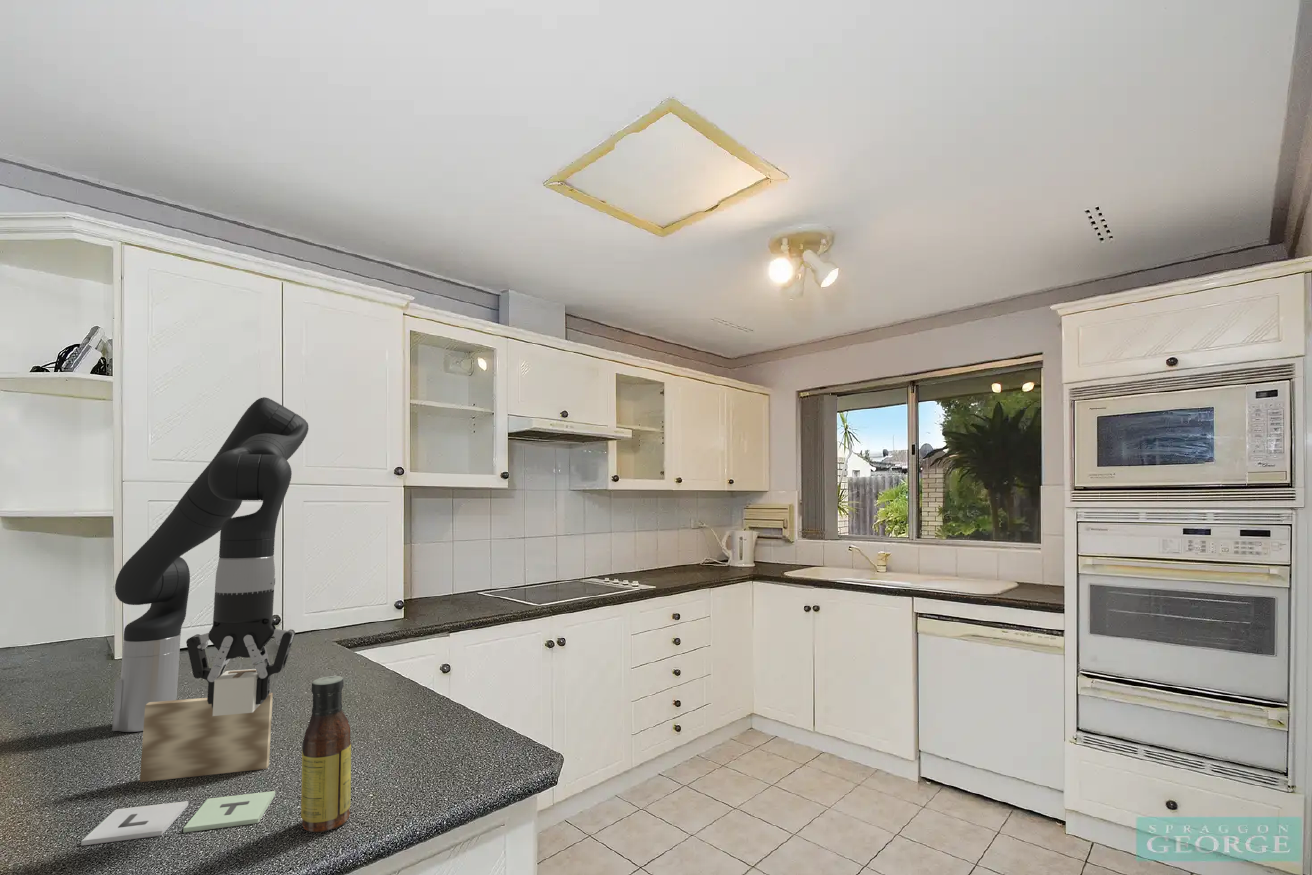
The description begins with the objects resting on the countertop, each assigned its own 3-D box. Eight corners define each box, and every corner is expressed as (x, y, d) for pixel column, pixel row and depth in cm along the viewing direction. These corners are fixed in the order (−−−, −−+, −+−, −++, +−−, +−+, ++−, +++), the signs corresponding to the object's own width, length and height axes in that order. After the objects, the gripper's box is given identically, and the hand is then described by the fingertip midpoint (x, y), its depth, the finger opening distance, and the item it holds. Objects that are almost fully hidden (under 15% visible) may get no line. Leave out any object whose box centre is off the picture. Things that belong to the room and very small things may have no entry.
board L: (80, 845, 85) (81, 839, 85) (115, 813, 94) (116, 808, 94) (161, 835, 88) (161, 829, 88) (188, 805, 96) (188, 800, 96)
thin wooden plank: (139, 782, 104) (145, 704, 105) (144, 778, 106) (149, 702, 107) (266, 768, 109) (270, 695, 110) (269, 765, 111) (272, 692, 112)
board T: (183, 832, 89) (183, 827, 89) (207, 802, 97) (207, 797, 97) (257, 823, 91) (258, 817, 91) (275, 794, 100) (275, 790, 100)
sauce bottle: (335, 808, 95) (341, 670, 97) (359, 820, 92) (364, 676, 94) (289, 827, 90) (296, 680, 92) (312, 841, 86) (319, 687, 88)
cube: (212, 716, 92) (214, 679, 93) (224, 705, 97) (226, 670, 98) (252, 712, 94) (254, 676, 94) (262, 702, 99) (264, 667, 99)
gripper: (178, 592, 91) (170, 717, 90) (292, 588, 96) (286, 707, 94) (199, 585, 99) (192, 701, 97) (304, 582, 103) (298, 693, 101)
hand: (238, 703), depth 96 cm, fingers closed on cube, 5 cm apart
